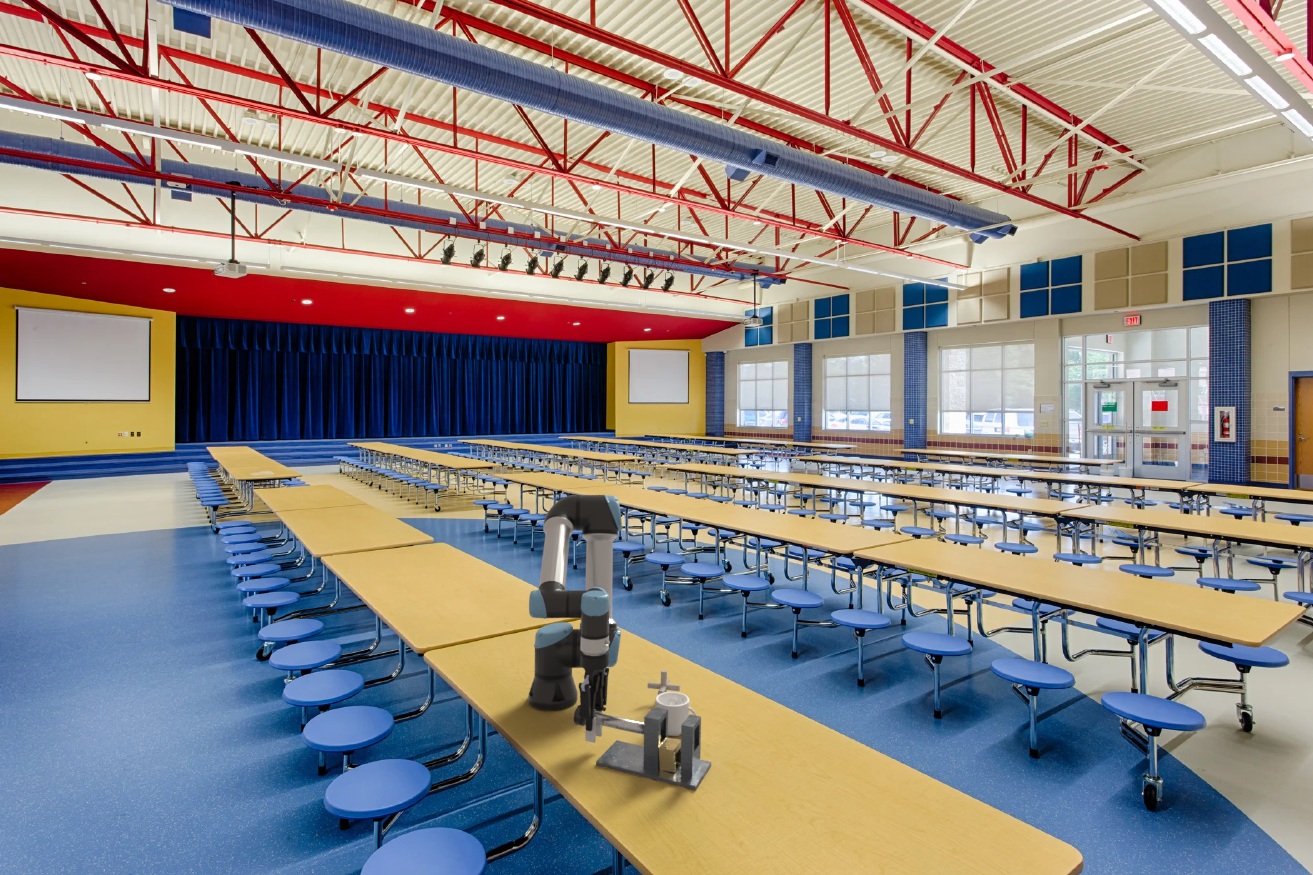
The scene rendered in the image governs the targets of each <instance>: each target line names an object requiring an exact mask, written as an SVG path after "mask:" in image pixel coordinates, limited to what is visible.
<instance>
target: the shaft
mask: <svg viewBox="0 0 1313 875" xmlns="http://www.w3.org/2000/svg"><path fill="white" fill-rule="evenodd" d="M594 717H596V724H597V725H602V727H606V728H612V729H616V730H620V731H625V732H629V733H633V734H639V735H643V736H644V721H643V722H641V721H638V720H633V719H628V718H623V717H619V716H615V715H611V714H610V715H609V714H605V713H602V714H601V713H596V712H595V714H594ZM573 723H574V724H575V725H577V726H580V727H584V726H586V719H584V718H581V707H580V704H578V705H577V706H576V708H575V711H574V715H573Z"/></svg>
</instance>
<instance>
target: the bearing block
mask: <svg viewBox="0 0 1313 875" xmlns="http://www.w3.org/2000/svg"><path fill="white" fill-rule="evenodd" d="M643 718H644V719H643V723H644V735H643V746H642V745H638V744H634V743H630V742H626V741H623V740H615V742H613V743H612V745H610V746H609V747H608V749H607V750H606V751H604V753H603V754H602V755H601V756H599V758H598V759H597V760H595V766H597V767H602V768H606V769H609V770H612V771H618V772H620V773H621V772H622V773H624V774H629V775H633V776H638V777H641V778H645V779H650V780H653V781H658V782H660V783H665V784H670V785H674V786H677V787H680V788H685V789H688V790H694V791H696V790H697V789H698V787H699V786H700V785H701V782H702V781H703V780H704V778H705V776H706V775H707V773H708V771H709V770H710V768H711V767H712V761H708V760H704V759H701V746H702V745H701V742H702V740H701V737H702V716H700V715H696V716H695V715H693V714H692V713H691V714H690V713H689V716H688V717H687V719H686V720H685V721H684V722H683V724H682V725H681V735H680V740H681V763H678V762H676V771H675V772H669V771H663V770H660V763H659V747H660V746H661V745H662V744H663V742H664V741H665V740H666V739H667V738H669V736H668V710H666V709H661V708H656V707H652V708H651V710H649V711H648V713H647V714H645V716H644V717H643Z"/></svg>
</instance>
